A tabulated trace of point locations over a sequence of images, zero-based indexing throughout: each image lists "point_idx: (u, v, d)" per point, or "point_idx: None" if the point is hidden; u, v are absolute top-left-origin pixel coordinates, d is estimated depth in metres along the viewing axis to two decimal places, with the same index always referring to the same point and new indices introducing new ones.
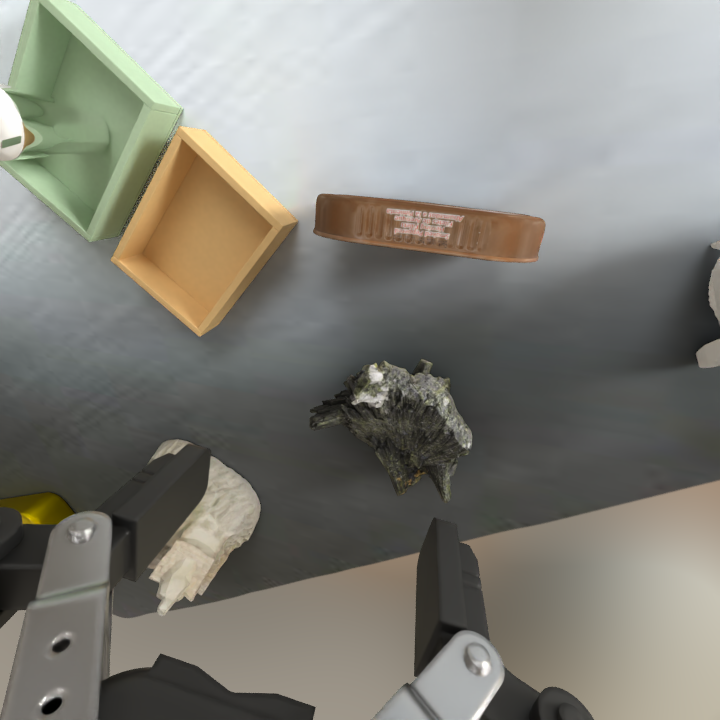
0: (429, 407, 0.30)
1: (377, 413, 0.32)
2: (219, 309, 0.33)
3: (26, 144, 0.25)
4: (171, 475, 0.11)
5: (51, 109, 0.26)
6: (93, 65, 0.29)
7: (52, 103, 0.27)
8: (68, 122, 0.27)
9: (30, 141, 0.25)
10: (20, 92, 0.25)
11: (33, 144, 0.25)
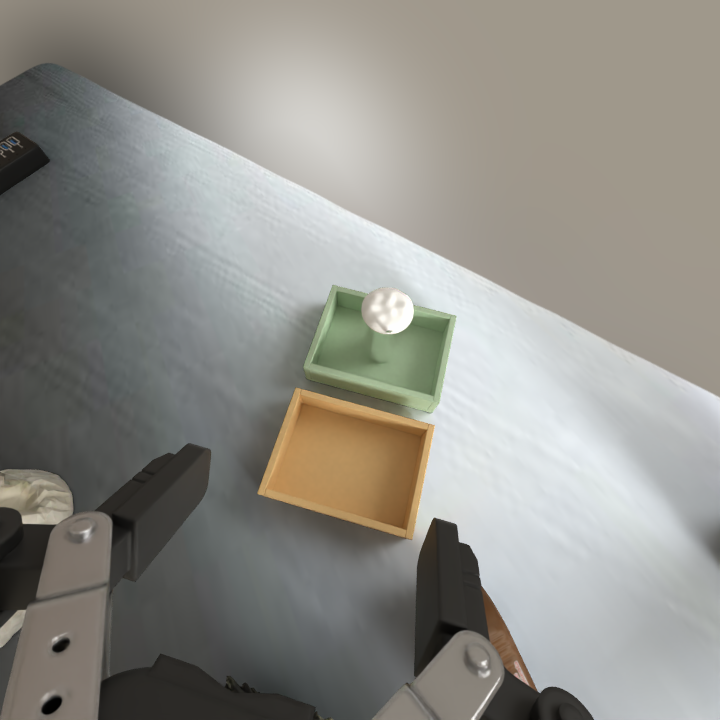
0: None
1: None
2: (299, 505, 0.32)
3: (383, 334, 0.33)
4: (171, 475, 0.11)
5: (401, 337, 0.36)
6: (422, 345, 0.41)
7: None
8: (395, 346, 0.36)
9: (385, 336, 0.33)
10: None
11: (383, 336, 0.33)
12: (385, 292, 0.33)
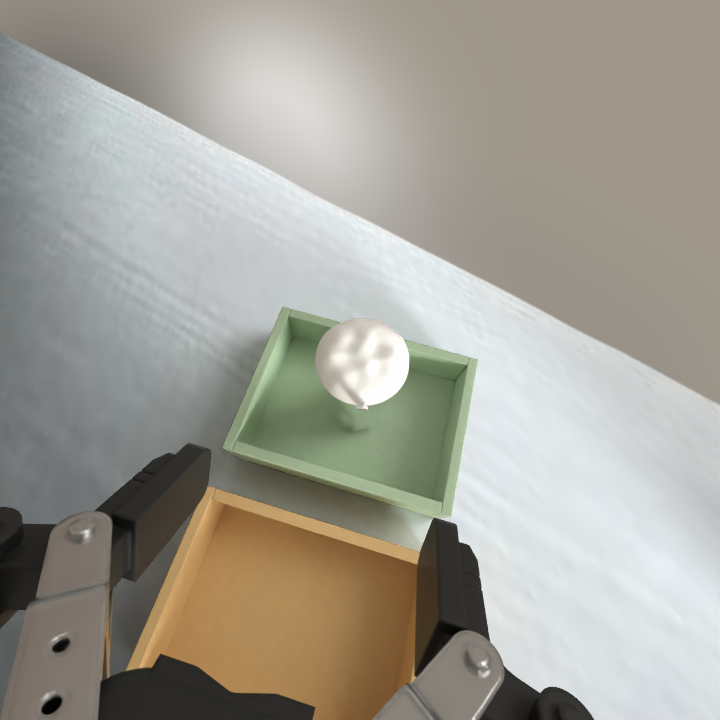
0: None
1: None
2: None
3: (354, 405, 0.18)
4: (171, 475, 0.11)
5: None
6: (423, 402, 0.26)
7: None
8: (377, 415, 0.22)
9: None
10: None
11: (353, 408, 0.19)
12: (358, 328, 0.18)
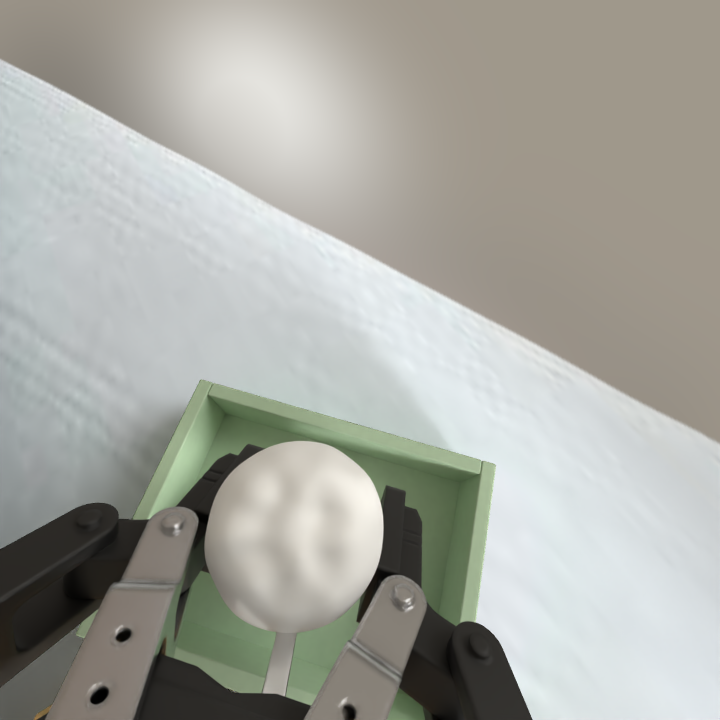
0: None
1: None
2: None
3: None
4: None
5: None
6: None
7: None
8: None
9: None
10: None
11: None
12: (287, 475, 0.10)
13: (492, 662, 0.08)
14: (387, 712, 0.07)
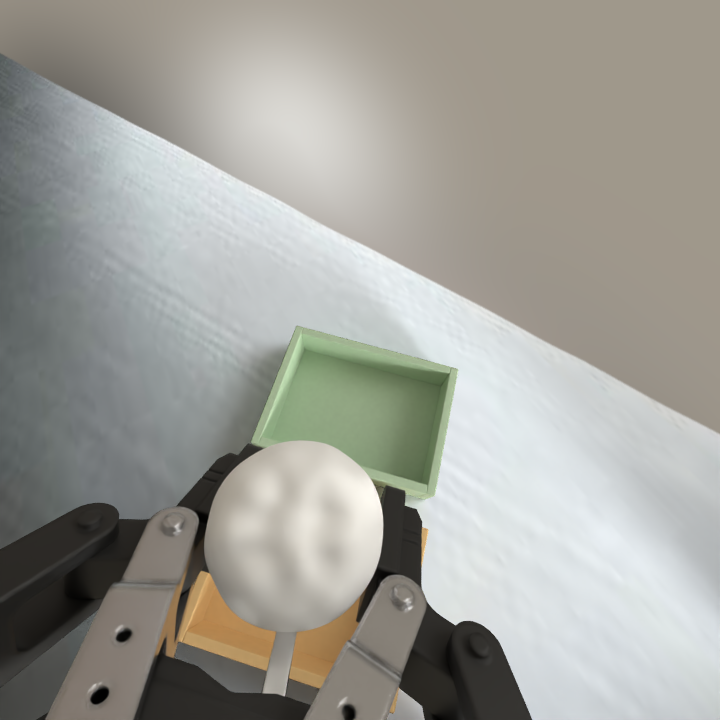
0: None
1: None
2: (233, 658, 0.22)
3: None
4: None
5: None
6: (413, 404, 0.32)
7: None
8: None
9: None
10: None
11: None
12: (287, 474, 0.10)
13: (492, 662, 0.08)
14: (387, 711, 0.07)
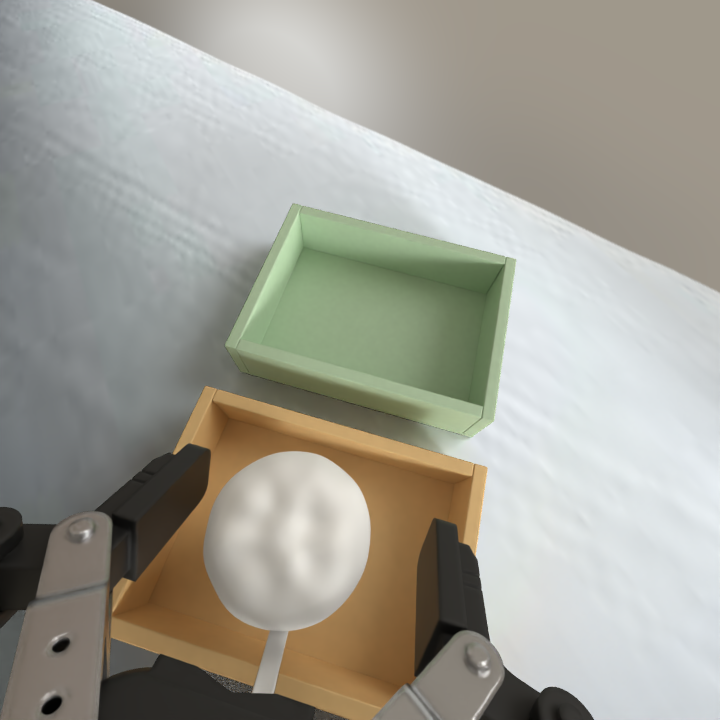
0: None
1: None
2: (184, 660, 0.13)
3: None
4: (171, 475, 0.11)
5: None
6: (451, 315, 0.23)
7: None
8: None
9: None
10: None
11: None
12: (280, 484, 0.10)
13: None
14: None
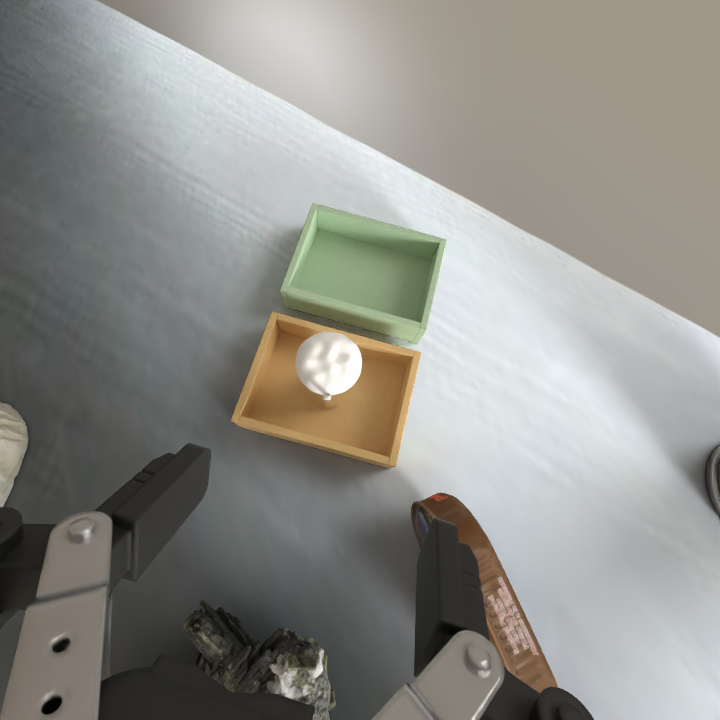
0: None
1: None
2: (277, 432, 0.30)
3: (322, 395, 0.26)
4: (171, 475, 0.11)
5: None
6: (409, 273, 0.38)
7: None
8: (342, 398, 0.30)
9: None
10: None
11: (323, 396, 0.27)
12: (325, 341, 0.26)
13: None
14: None
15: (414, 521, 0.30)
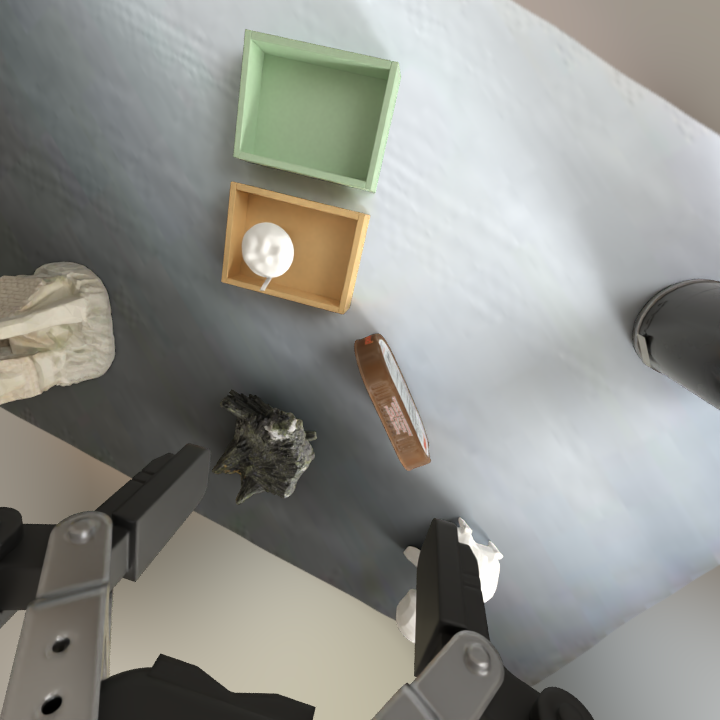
0: (295, 465, 0.42)
1: (266, 437, 0.43)
2: (255, 290, 0.39)
3: None
4: (171, 475, 0.11)
5: (297, 260, 0.36)
6: (367, 105, 0.35)
7: (301, 255, 0.36)
8: None
9: None
10: (297, 253, 0.34)
11: None
12: (258, 236, 0.31)
13: None
14: None
15: None
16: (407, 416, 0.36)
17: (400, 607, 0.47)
